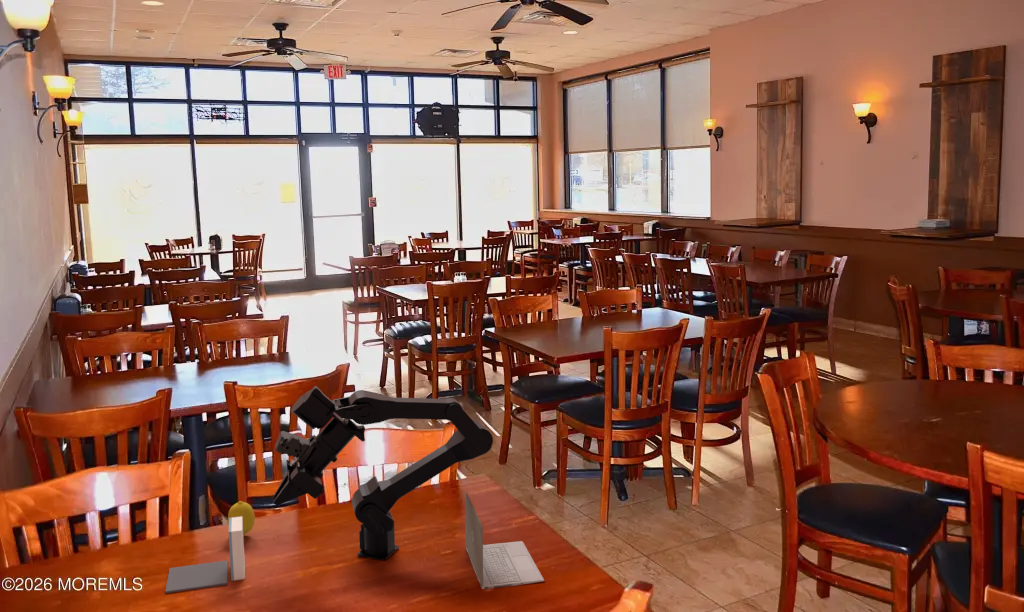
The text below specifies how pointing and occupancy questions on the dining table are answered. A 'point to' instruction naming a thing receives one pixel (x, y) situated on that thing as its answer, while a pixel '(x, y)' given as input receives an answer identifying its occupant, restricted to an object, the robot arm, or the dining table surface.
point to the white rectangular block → (236, 548)
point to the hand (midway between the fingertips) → (274, 501)
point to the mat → (197, 576)
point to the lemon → (243, 515)
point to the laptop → (497, 556)
